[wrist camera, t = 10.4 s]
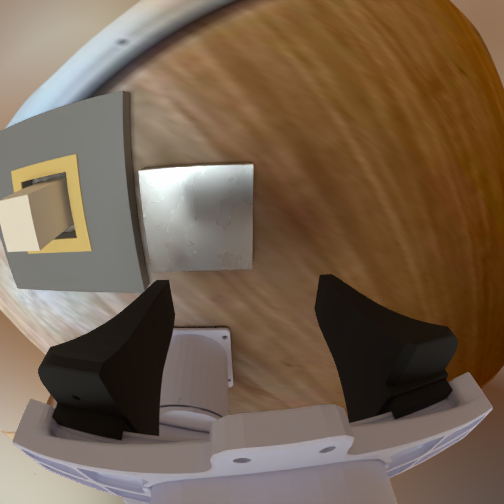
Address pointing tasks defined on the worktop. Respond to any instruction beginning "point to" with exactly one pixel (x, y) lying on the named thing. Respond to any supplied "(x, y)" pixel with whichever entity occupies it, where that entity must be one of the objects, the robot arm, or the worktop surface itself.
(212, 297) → the worktop surface
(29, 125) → the hole board
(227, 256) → the tab
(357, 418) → the robot arm
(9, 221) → the peg
